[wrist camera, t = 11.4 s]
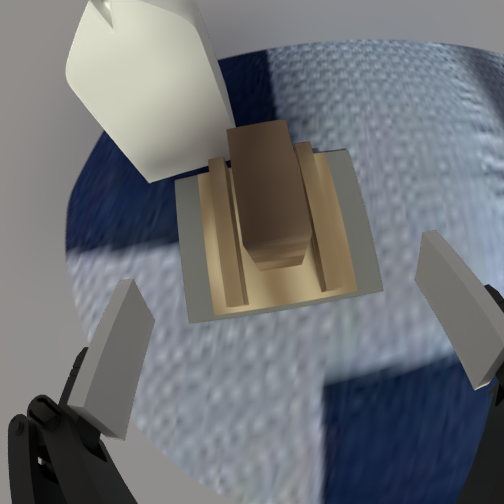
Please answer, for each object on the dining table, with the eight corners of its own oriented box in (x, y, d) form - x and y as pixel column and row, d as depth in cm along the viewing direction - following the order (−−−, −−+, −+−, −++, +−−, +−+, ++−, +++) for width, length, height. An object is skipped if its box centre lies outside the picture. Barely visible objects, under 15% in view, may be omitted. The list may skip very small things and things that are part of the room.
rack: (323, 156, 31) (328, 134, 27) (355, 291, 28) (366, 288, 24) (200, 178, 32) (187, 159, 28) (216, 315, 29) (204, 315, 25)
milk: (145, 109, 36) (50, -32, 11) (225, 85, 35) (172, -87, 10) (149, 183, 34) (-2, 31, 8) (242, 156, 33) (173, -64, 7)
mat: (347, 150, 32) (347, 149, 31) (382, 290, 28) (383, 290, 28) (175, 181, 33) (174, 180, 33) (189, 323, 30) (189, 323, 30)
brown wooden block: (286, 188, 30) (285, 119, 18) (301, 264, 28) (312, 233, 17) (248, 194, 30) (226, 129, 19) (260, 271, 29) (242, 245, 17)
